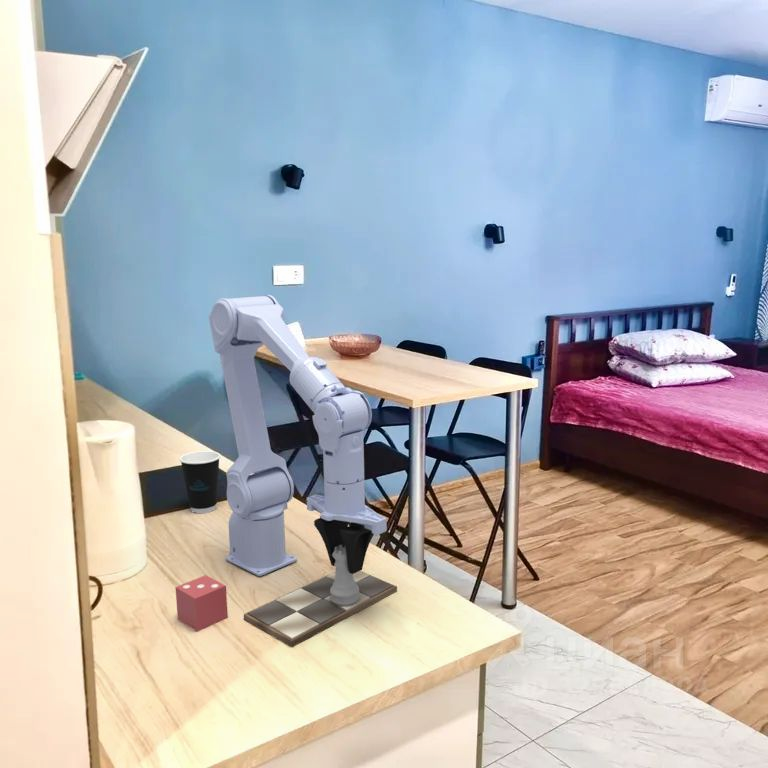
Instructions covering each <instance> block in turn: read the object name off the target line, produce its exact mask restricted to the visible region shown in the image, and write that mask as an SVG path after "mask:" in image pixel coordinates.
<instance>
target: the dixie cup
mask: <svg viewBox="0 0 768 768" xmlns="http://www.w3.org/2000/svg"><path fill="white" fill-rule="evenodd" d="M220 459H221V454H220V453H219V452H217V451H211V450H200V451H199V450H198V451H192V452H188V453H184V454H183V455H181V456H180V457H179V459H178V460H179V462H180V464H181V469H182V475H183V479H184V484H185V490H186V495H187V500H188V505H189V507H190V510H192V511H193V512H192V511H191V512H192V513H194V512H196V513H195V514H206V512H208V513H211V512H213V511H215V510H216V507H217V506H216V505H217V503H218V492H219V491H218V490H219V488H218V487H219V486H218V485H219V471H220V470H219V469H220ZM214 509H215V510H214ZM212 510H213V511H212ZM210 511H211V512H210Z"/></svg>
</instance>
